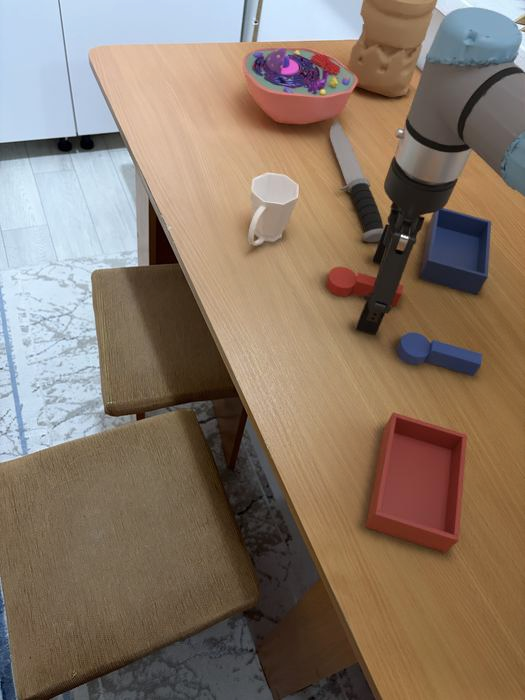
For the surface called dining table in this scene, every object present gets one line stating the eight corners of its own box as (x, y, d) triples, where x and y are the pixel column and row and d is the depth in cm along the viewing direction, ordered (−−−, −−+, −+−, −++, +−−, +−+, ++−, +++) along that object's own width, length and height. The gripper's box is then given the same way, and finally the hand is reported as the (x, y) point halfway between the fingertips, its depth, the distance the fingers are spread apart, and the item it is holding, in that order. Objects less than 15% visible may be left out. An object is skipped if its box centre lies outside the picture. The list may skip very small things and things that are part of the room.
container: (377, 64, 121) (404, -33, 107) (419, 94, 116) (453, -4, 101) (331, 77, 116) (353, -23, 101) (373, 109, 110) (402, 8, 96)
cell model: (343, 152, 101) (359, 90, 92) (229, 130, 101) (234, 66, 92) (350, 100, 111) (364, 40, 102) (246, 81, 111) (252, 18, 102)
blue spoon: (474, 359, 77) (482, 347, 75) (472, 383, 74) (481, 371, 72) (398, 336, 77) (404, 324, 75) (394, 359, 75) (400, 347, 73)
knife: (358, 247, 88) (390, 242, 88) (360, 233, 86) (393, 228, 86) (314, 130, 104) (342, 126, 105) (315, 115, 102) (343, 111, 102)
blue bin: (477, 294, 84) (487, 277, 81) (419, 278, 84) (427, 260, 82) (481, 239, 91) (491, 221, 88) (428, 224, 92) (436, 206, 89)
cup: (299, 227, 88) (308, 183, 82) (269, 267, 82) (277, 223, 76) (258, 210, 89) (264, 165, 83) (226, 248, 84) (229, 203, 77)
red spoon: (399, 292, 82) (404, 279, 80) (395, 312, 80) (400, 300, 78) (329, 272, 83) (333, 259, 81) (323, 291, 81) (326, 278, 79)
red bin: (445, 552, 61) (458, 540, 58) (365, 527, 61) (375, 514, 58) (454, 449, 68) (467, 434, 65) (383, 428, 69) (392, 412, 66)
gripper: (407, 100, 72) (363, 230, 89) (375, 227, 57) (330, 354, 74) (467, 116, 71) (411, 243, 88) (450, 248, 57) (387, 371, 74)
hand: (374, 294), depth 81 cm, fingers open, 13 cm apart
